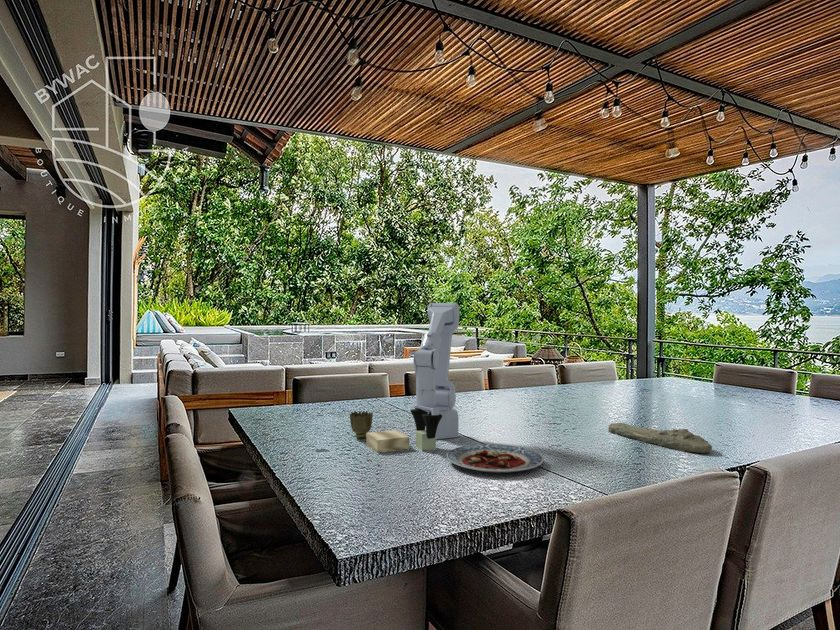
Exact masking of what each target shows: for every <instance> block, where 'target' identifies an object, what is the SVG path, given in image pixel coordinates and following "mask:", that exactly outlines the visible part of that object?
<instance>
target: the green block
mask: <svg viewBox="0 0 840 630" xmlns="http://www.w3.org/2000/svg"><path fill="white" fill-rule="evenodd" d="M416 447H417V448H416ZM415 448H416V449H418V448H419V449H420V450H419V449H418V450H419V451H421V450H428V451H431V450H430V449H436V450H437V439H436V435H435V438H431V439H428V438H427V434H426V429H425V430H421V431H417V430H416V431H415Z"/></svg>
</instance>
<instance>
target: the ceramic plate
mask: <svg viewBox="0 0 840 630" xmlns="http://www.w3.org/2000/svg"><path fill="white" fill-rule="evenodd" d="M446 459H447V460H448V461H449V462H450V463H451V464H453V465H456V466H459V467H461V468H464V469H469V470H474V471H477V472H480V473H481V472H482V473H490V474H506V473H509V474H510V473H515V472H521V471H527V470H531V469H535V468H537V467H539V466H540V465H542V464H543V463H544V460H545V458H544V456H543V455H542V454H540V453H539V452H537V451H535V450H533V449H531V448H526V447H521V446H519V445H513V444H511V445H509V444H501V443H496V444H495V443H480V444H479V443H478V444H477V443H476V444H467V445H462V446H458V447H456V448H453V449H450V450H449V451H448V452H447V454H446Z"/></svg>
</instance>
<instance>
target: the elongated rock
mask: <svg viewBox="0 0 840 630" xmlns="http://www.w3.org/2000/svg"><path fill="white" fill-rule="evenodd" d="M608 432H609V433H611V434H616V435H619V436H622V437H625V438H628V439H633V440H636V441H639V442H642V443H647V444H653V445H658V446H660V447H664V448H667V449H672V450H673V449H674V450H676V451H680V452H685V451H686V452H691V453H700V454H706V453H710V452H711V451H712V449H713V446H712V444H711V443H709V441H708V440H705V438H703V437H701V435H698V434H697V435H696V434H693V432H692V431H689V430H688V428H682V429H680V428H678V429H675V428H673V429H672V430H671V429H664V430H663V429H660V430H656V429H652V428H647V427H642V426H636V425H632V424H629V423H623V422H615V423H610V424H609V425H608Z"/></svg>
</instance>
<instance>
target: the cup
mask: <svg viewBox="0 0 840 630" xmlns="http://www.w3.org/2000/svg"><path fill="white" fill-rule="evenodd" d="M373 413H374V412H371V411H369V412H368V411H365V410H363V411H360V410H359V412H358V411H356V410H355V411H354V412H353V411H351V412H350V413H349V419H350V420H349V421H350V426H351V430H352V432H354V433H355V438H357V439H361V440H362V439H366V433H370V431H371V429H372V426H373V425H372V424H373V416H374V414H373Z"/></svg>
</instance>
